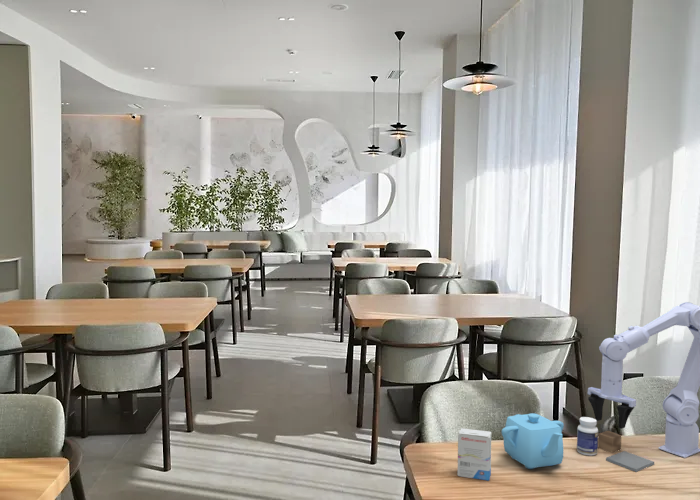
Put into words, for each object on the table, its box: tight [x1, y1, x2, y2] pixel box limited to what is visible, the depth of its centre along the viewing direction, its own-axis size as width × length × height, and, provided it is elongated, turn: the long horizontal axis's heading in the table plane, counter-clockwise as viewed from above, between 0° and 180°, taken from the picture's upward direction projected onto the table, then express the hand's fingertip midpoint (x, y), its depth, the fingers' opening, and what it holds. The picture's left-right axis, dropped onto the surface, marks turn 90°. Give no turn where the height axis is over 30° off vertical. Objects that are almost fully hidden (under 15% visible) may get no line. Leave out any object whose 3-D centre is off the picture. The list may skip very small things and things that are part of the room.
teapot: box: [501, 412, 565, 470], centre depth 167 cm, size 18×16×14 cm
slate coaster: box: [605, 450, 655, 473], centre depth 167 cm, size 9×9×1 cm
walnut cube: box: [598, 430, 622, 454], centre depth 177 cm, size 4×4×4 cm
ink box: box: [457, 427, 492, 482], centre depth 159 cm, size 9×5×12 cm, turn 71°
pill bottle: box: [576, 416, 599, 457], centre depth 174 cm, size 6×6×10 cm
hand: (610, 423), depth 176 cm, fingers open, 7 cm apart
